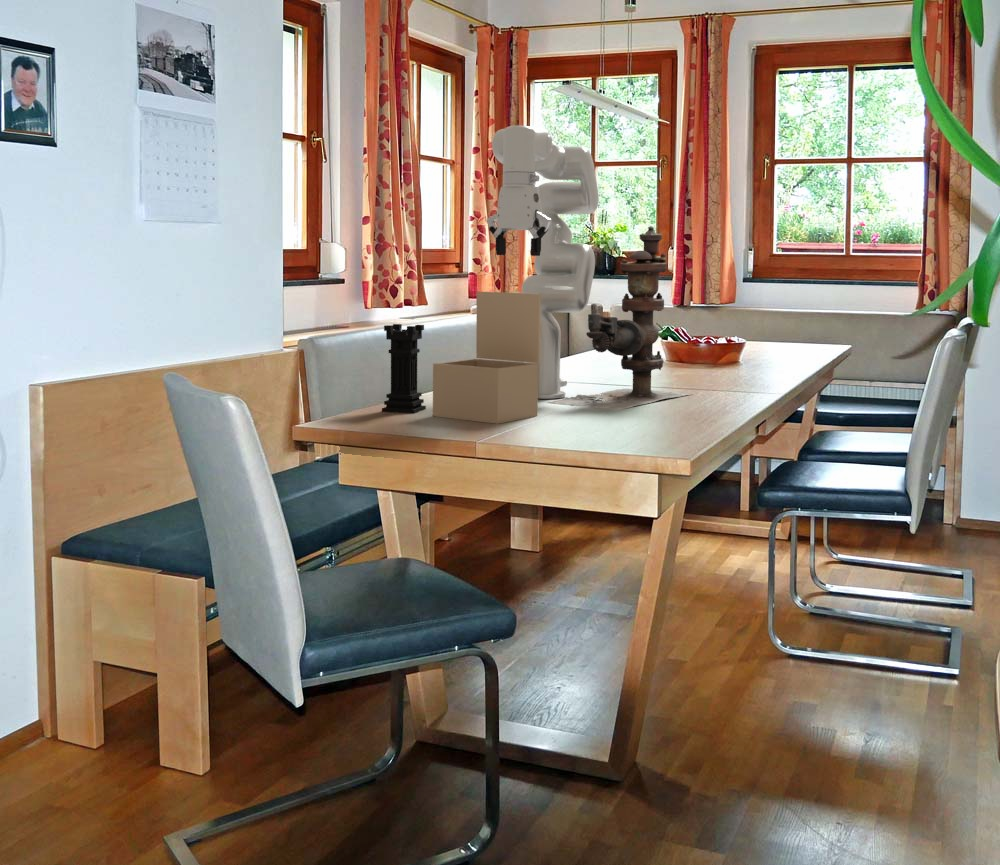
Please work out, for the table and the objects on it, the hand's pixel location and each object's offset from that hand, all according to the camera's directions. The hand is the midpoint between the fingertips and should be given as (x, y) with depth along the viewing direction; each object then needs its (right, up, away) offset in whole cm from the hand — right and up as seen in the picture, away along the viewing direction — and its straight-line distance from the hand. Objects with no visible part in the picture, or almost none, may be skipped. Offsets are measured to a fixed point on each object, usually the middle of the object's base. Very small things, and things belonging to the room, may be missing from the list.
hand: (517, 255), depth 262 cm
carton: (-8, -38, -7) cm, 39 cm away
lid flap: (-3, -17, -4) cm, 18 cm away
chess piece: (-27, -37, 0) cm, 45 cm away
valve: (+28, -33, +29) cm, 52 cm away
